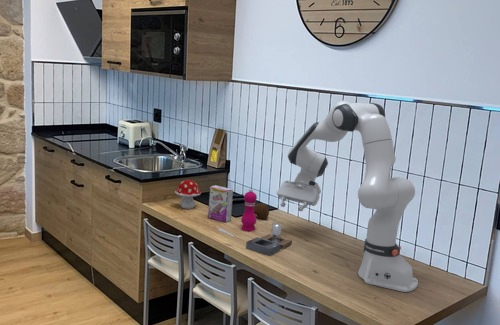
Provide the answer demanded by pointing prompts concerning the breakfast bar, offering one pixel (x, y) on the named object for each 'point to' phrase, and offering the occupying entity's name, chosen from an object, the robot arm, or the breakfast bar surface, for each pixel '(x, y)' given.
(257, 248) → the socket block
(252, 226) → the pepper mill
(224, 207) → the candy bar box
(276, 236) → the steel axle
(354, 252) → the breakfast bar surface
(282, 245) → the wooden picture frame
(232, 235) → the butter knife
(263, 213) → the brown rounded lump
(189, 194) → the decorative mushroom
